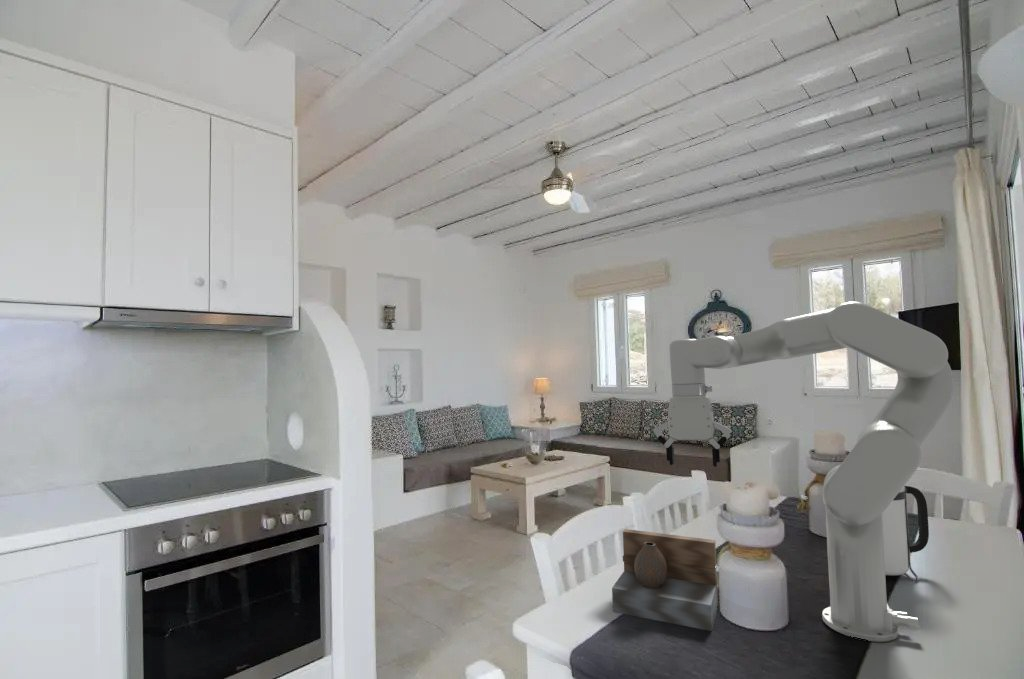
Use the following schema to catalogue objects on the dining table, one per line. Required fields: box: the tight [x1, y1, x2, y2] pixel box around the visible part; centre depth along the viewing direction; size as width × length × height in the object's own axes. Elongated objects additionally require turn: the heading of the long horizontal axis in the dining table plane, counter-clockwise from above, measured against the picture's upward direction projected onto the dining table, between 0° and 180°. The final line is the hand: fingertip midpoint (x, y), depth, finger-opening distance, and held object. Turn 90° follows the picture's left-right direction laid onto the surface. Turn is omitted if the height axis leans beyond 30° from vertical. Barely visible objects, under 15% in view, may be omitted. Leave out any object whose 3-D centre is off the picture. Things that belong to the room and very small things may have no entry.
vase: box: [634, 542, 667, 588], centre depth 113 cm, size 7×7×9 cm
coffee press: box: [882, 485, 930, 582], centre depth 129 cm, size 17×16×30 cm
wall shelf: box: [611, 528, 719, 632], centre depth 112 cm, size 20×12×14 cm, turn 63°
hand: (693, 464), depth 121 cm, fingers open, 9 cm apart
